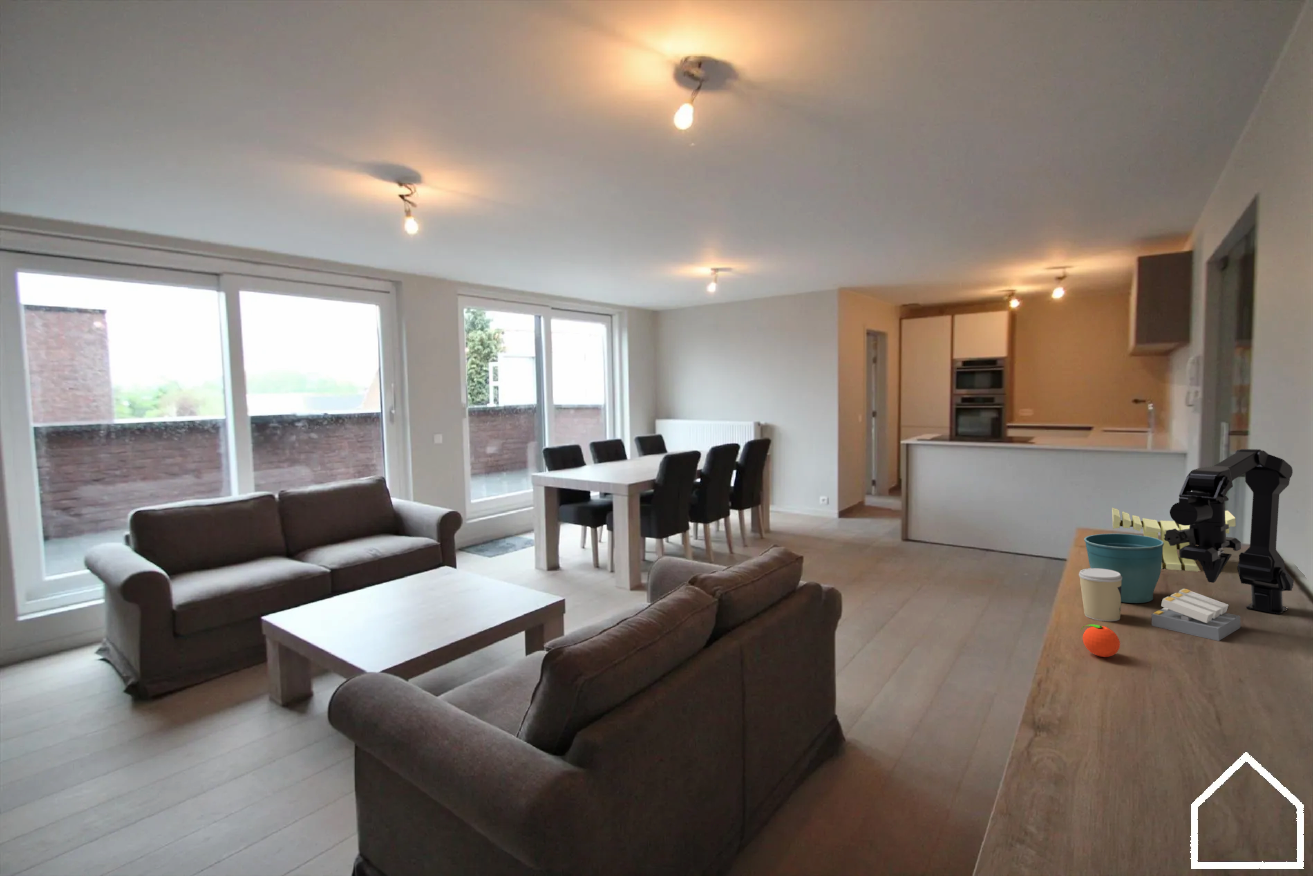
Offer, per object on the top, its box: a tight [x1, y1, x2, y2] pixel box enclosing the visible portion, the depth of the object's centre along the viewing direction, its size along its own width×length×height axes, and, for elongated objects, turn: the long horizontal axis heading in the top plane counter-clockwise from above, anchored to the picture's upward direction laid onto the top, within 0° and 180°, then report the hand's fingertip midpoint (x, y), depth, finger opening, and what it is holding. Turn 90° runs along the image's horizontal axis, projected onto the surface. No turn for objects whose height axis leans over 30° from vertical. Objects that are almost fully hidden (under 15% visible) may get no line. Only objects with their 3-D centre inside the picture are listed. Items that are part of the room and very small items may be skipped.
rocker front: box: [1160, 596, 1213, 623], centre depth 146 cm, size 3×9×2 cm, turn 29°
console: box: [1150, 607, 1241, 642], centre depth 148 cm, size 13×13×4 cm
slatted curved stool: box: [1111, 507, 1237, 572], centre depth 199 cm, size 30×16×18 cm, turn 54°
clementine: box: [1080, 623, 1121, 658], centre depth 137 cm, size 8×7×7 cm
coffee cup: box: [1078, 567, 1122, 622], centre depth 159 cm, size 9×9×12 cm
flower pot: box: [1083, 533, 1164, 604], centre depth 171 cm, size 18×18×17 cm
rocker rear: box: [1177, 588, 1229, 615], centre depth 150 cm, size 3×9×2 cm, turn 29°
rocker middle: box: [1169, 592, 1221, 618], centre depth 148 cm, size 3×9×2 cm, turn 29°
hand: (1211, 582), depth 147 cm, fingers closed
